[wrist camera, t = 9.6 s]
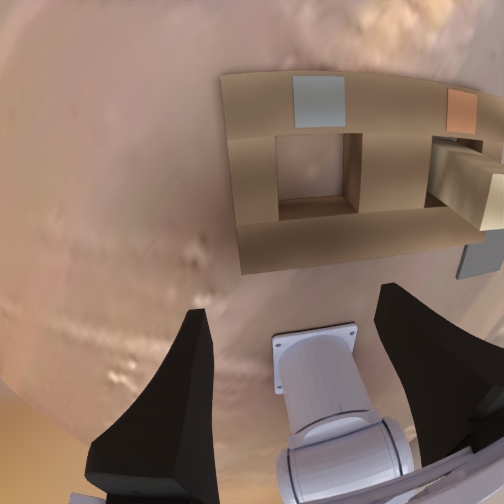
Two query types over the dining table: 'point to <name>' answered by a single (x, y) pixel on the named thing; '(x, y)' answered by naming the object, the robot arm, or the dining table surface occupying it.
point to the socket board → (349, 164)
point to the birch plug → (467, 183)
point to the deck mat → (483, 255)
